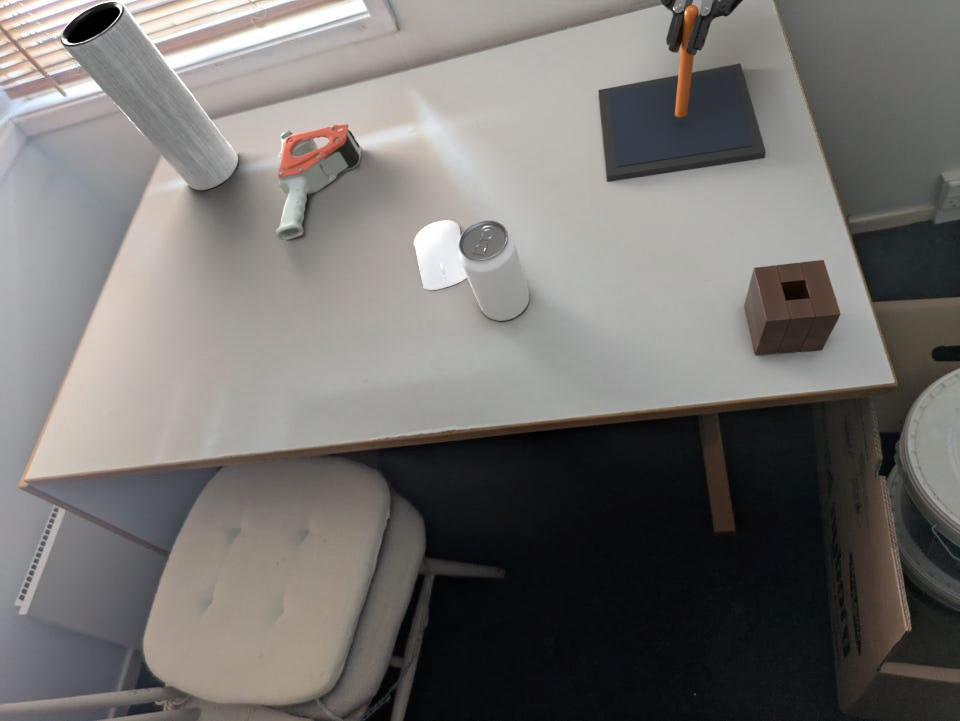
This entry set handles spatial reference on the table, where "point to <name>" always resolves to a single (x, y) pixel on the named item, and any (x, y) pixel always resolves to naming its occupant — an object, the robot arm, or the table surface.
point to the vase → (149, 93)
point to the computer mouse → (439, 255)
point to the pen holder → (791, 308)
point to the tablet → (678, 124)
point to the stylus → (685, 63)
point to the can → (494, 270)
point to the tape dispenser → (311, 169)
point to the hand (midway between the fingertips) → (682, 52)
